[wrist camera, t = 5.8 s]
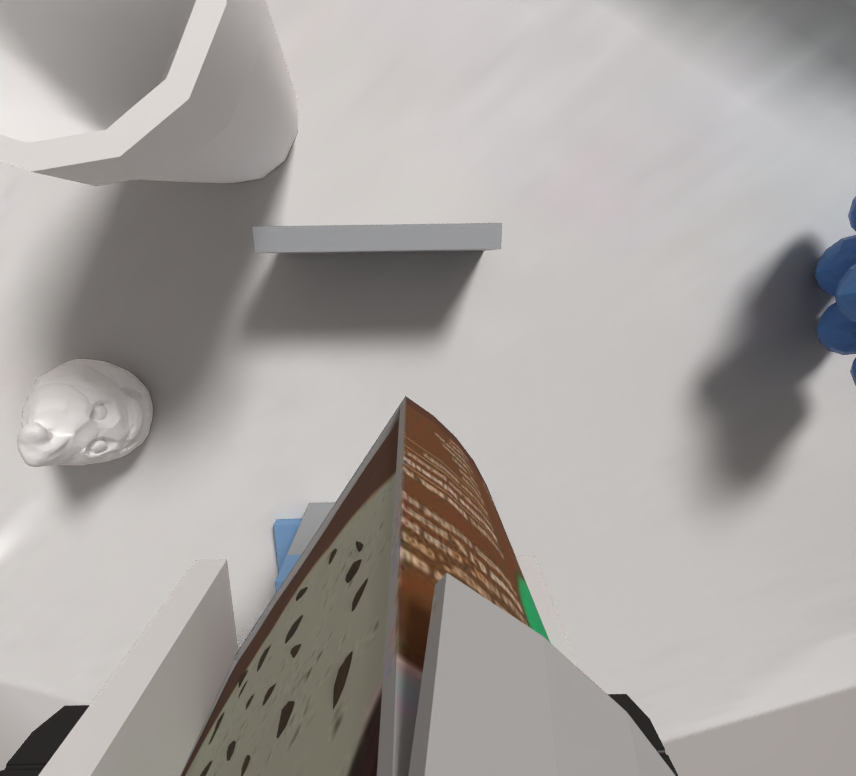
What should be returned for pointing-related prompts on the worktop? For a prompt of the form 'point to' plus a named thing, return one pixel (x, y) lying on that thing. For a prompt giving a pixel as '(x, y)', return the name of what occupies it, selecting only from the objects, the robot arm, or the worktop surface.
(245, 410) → the worktop surface
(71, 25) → the foam cup
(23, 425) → the garlic bulb
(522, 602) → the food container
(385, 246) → the blue-edged channel bracket
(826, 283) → the grapes
